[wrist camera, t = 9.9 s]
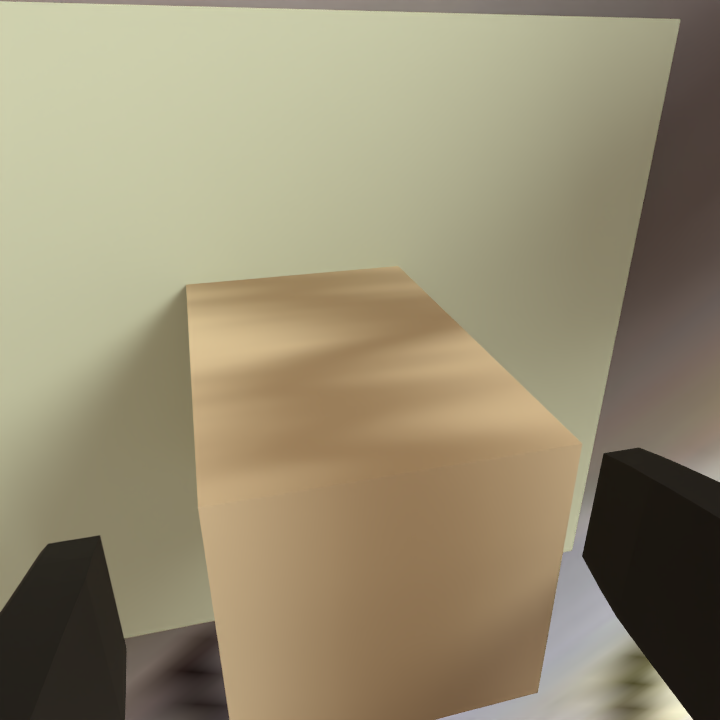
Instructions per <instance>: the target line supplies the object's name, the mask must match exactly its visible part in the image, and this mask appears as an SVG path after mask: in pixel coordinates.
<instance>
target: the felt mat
mask: <svg viewBox="0 0 720 720" xmlns="http://www.w3.org/2000/svg"><path fill="white" fill-rule="evenodd" d="M680 20H681V19H657V18H619V17H580V16H541V15H503V14H464V13H426V12H387V11H349V10H310V9H272V8H233V7H195V6H156V5H118V4H79V3H41V2H2V1H0V612H1V611H2V609H3V608H4V606H5V605H6V603H7V602H8V600H9V599H10V597H11V596H12V594H13V593H14V591H15V590H16V588H17V587H18V585H19V584H20V582H21V581H22V579H23V578H24V576H25V575H26V573H27V572H28V570H29V569H30V567H31V566H32V564H33V563H34V561H35V560H36V558H37V557H38V555H39V554H40V552H41V551H42V550H43V549H44V548H45V547H46V546H47V544H49V543H55V542H61V541H67V540H74V539H80V538H86V537H92V536H98V535H100V537H101V541H102V545H103V550H104V554H105V558H106V563H107V567H108V571H109V576H110V580H111V584H112V588H113V593H114V597H115V601H116V606H117V610H118V614H119V619H120V623H121V627H122V631H123V636H124V639H125V638H130V637H135V636H140V635H145V634H150V633H155V632H160V631H165V630H170V629H175V628H180V627H186V626H191V625H196V624H201V623H206V622H211V621H215V618H214V612H213V605H212V598H211V592H210V585H209V578H208V571H207V565H206V558H205V551H204V545H203V538H202V531H201V525H200V518H199V511H198V499H197V480H196V462H195V443H194V424H193V406H192V387H191V368H190V350H189V331H188V313H187V294H186V285H188V284H199V283H211V282H222V281H233V280H245V279H256V278H267V277H279V276H290V275H301V274H313V273H324V272H335V271H347V270H358V269H370V268H381V267H392V266H399V267H400V268H401V269H402V270H403V271H404V272H405V273H406V274H407V275H408V276H409V277H410V278H411V279H412V280H413V281H414V282H415V283H416V284H417V285H419V286H420V287H421V288H422V289H423V290H424V291H425V292H426V293H427V294H428V295H429V296H430V297H431V298H432V299H433V300H434V301H435V302H436V303H437V304H438V305H439V306H440V307H441V308H442V309H443V310H444V311H445V312H446V313H448V314H449V315H450V316H451V317H452V318H453V319H454V320H455V321H456V322H457V323H458V324H459V325H460V326H461V327H462V328H463V329H464V330H465V331H466V332H467V333H468V334H469V335H470V336H471V337H472V338H473V339H474V340H475V341H477V342H478V343H479V344H480V345H481V346H482V347H483V348H484V349H485V350H486V351H487V352H488V353H489V354H490V355H491V356H492V357H493V358H494V359H495V360H496V361H497V362H498V363H499V364H500V365H501V366H502V367H503V368H505V369H506V370H507V371H508V372H509V373H510V374H511V375H512V376H513V377H514V378H515V379H516V380H517V381H518V382H519V383H520V384H521V385H522V386H523V387H524V388H525V389H526V390H527V391H528V392H529V393H530V394H531V395H532V396H534V397H535V398H536V399H537V400H538V401H539V402H540V403H541V404H542V405H543V406H544V407H545V408H546V409H547V410H548V411H549V412H550V413H551V414H552V415H553V416H554V417H555V418H556V419H557V420H558V421H559V422H560V423H561V424H563V425H564V426H565V427H566V428H567V429H568V430H569V431H570V432H571V433H572V434H573V435H574V436H575V437H576V438H577V439H578V440H579V441H580V442H581V443H582V448H581V454H580V460H579V465H578V471H577V476H576V482H575V487H574V493H573V498H572V504H571V510H570V515H569V521H568V526H567V532H566V537H565V543H564V549H563V552H567V551H572V548H573V543H574V538H575V533H576V528H577V523H578V518H579V514H580V509H581V504H582V499H583V494H584V489H585V484H586V479H587V474H588V470H589V465H590V460H591V455H592V450H593V445H594V440H595V435H596V430H597V426H598V421H599V416H600V411H601V406H602V401H603V396H604V391H605V386H606V382H607V377H608V372H609V367H610V362H611V357H612V352H613V347H614V342H615V338H616V333H617V328H618V323H619V318H620V313H621V308H622V303H623V299H624V294H625V289H626V284H627V279H628V274H629V269H630V264H631V259H632V255H633V250H634V245H635V240H636V235H637V230H638V225H639V220H640V215H641V211H642V206H643V201H644V196H645V191H646V186H647V181H648V176H649V171H650V167H651V162H652V157H653V152H654V147H655V142H656V137H657V132H658V127H659V123H660V118H661V113H662V108H663V103H664V98H665V93H666V88H667V83H668V79H669V74H670V69H671V64H672V59H673V54H674V49H675V44H676V40H677V35H678V30H679V25H680Z"/></svg>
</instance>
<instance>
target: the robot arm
mask: <svg viewBox="0 0 720 720" xmlns="http://www.w3.org/2000/svg"><path fill="white" fill-rule="evenodd" d="M582 557H583V559H584V560H585V562H586V564H587V566H588V568H589V570H590V571H591V573H592V575H593V577H594V579H595V581H596V582H597V584H598V586H599V588H600V590H601V591H602V593H603V595H604V596H605V598H606V600H607V601H608V603H609V605H610V606H611V608H612V610H613V612H614V613H615V615H616V617H617V618H618V619H619V621H620V622H621V624H622V625H623V626H624V628H625V629H626V631H627V632H628V633H629V635H630V636H631V637H632V639H633V640H634V641H635V643H636V644H637V645H638V647H639V648H640V649H641V651H642V652H643V654H644V655H645V656H646V658H647V659H648V660H649V662H650V663H651V664H652V666H653V667H654V668H655V670H656V671H657V672H658V674H659V675H660V676H661V678H662V679H663V680H664V682H665V683H666V684H667V686H668V687H669V688H670V690H671V691H672V692H673V693H674V695H675V696H676V697H677V699H678V700H679V701H680V703H681V704H682V705H683V707H684V708H685V709H686V711H687V712H688V713H689V715H690V716H691V717H692V719H693V720H720V482H717V481H715V480H713V479H711V478H709V477H707V476H705V475H702V474H700V473H698V472H696V471H694V470H691V469H689V468H687V467H685V466H682V465H680V464H678V463H676V462H673V461H671V460H669V459H666V458H664V457H662V456H659V455H657V454H654V453H652V452H649V451H646V450H644V449H641V448H634V449H628V450H622V451H615V452H609V453H604V454H603V459H602V464H601V469H600V474H599V478H598V483H597V488H596V493H595V498H594V502H593V507H592V512H591V517H590V522H589V526H588V531H587V536H586V541H585V546H584V550H583V555H582ZM125 698H126V644H125V640H124V636H123V631H122V627H121V623H120V619H119V614H118V610H117V606H116V601H115V597H114V593H113V588H112V584H111V580H110V576H109V571H108V567H107V563H106V558H105V554H104V550H103V545H102V541H101V537H100V535H98V536H92V537H86V538H80V539H74V540H67V541H61V542H55V543H49V544H47V546H46V547H45V548H44V549H43V550H42V551H41V552H40V554H39V555H38V557H37V558H36V560H35V561H34V563H33V564H32V566H31V567H30V569H29V570H28V572H27V573H26V575H25V576H24V578H23V579H22V581H21V582H20V584H19V585H18V587H17V588H16V590H15V591H14V593H13V594H12V596H11V597H10V599H9V600H8V602H7V603H6V605H5V606H4V608H3V609H2V611H1V612H0V720H125Z"/></svg>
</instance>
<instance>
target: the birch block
mask: <svg viewBox="0 0 720 720" xmlns="http://www.w3.org/2000/svg"><path fill="white" fill-rule="evenodd" d="M186 294H187V313H188V331H189V350H190V368H191V387H192V406H193V424H194V443H195V462H196V480H197V499H198V511H199V518H200V525H201V531H202V538H203V545H204V551H205V558H206V565H207V571H208V578H209V585H210V592H211V598H212V605H213V612H214V618H215V625H216V632H217V638H218V645H219V652H220V658H221V665H222V672H223V678H224V685H225V692H226V699H227V705H228V712H229V719H230V720H435V719H439V718H443V717H447V716H450V715H454V714H458V713H462V712H466V711H469V710H473V709H477V708H481V707H485V706H489V705H492V704H496V703H500V702H504V701H508V700H511V699H515V698H519V697H523V696H527V695H530V694H534V693H538V688H539V682H540V677H541V671H542V666H543V660H544V654H545V649H546V643H547V638H548V632H549V627H550V621H551V615H552V610H553V604H554V599H555V593H556V588H557V582H558V576H559V571H560V565H561V560H562V554H563V549H564V543H565V537H566V532H567V526H568V521H569V515H570V510H571V504H572V498H573V493H574V487H575V482H576V476H577V471H578V465H579V460H580V454H581V448H582V443H581V442H580V441H579V440H578V439H577V438H576V437H575V436H574V435H573V434H572V433H571V432H570V431H569V430H568V429H567V428H566V427H565V426H564V425H563V424H561V423H560V422H559V421H558V420H557V419H556V418H555V417H554V416H553V415H552V414H551V413H550V412H549V411H548V410H547V409H546V408H545V407H544V406H543V405H542V404H541V403H540V402H539V401H538V400H537V399H536V398H535V397H534V396H532V395H531V394H530V393H529V392H528V391H527V390H526V389H525V388H524V387H523V386H522V385H521V384H520V383H519V382H518V381H517V380H516V379H515V378H514V377H513V376H512V375H511V374H510V373H509V372H508V371H507V370H506V369H505V368H503V367H502V366H501V365H500V364H499V363H498V362H497V361H496V360H495V359H494V358H493V357H492V356H491V355H490V354H489V353H488V352H487V351H486V350H485V349H484V348H483V347H482V346H481V345H480V344H479V343H478V342H477V341H475V340H474V339H473V338H472V337H471V336H470V335H469V334H468V333H467V332H466V331H465V330H464V329H463V328H462V327H461V326H460V325H459V324H458V323H457V322H456V321H455V320H454V319H453V318H452V317H451V316H450V315H449V314H448V313H446V312H445V311H444V310H443V309H442V308H441V307H440V306H439V305H438V304H437V303H436V302H435V301H434V300H433V299H432V298H431V297H430V296H429V295H428V294H427V293H426V292H425V291H424V290H423V289H422V288H421V287H420V286H419V285H417V284H416V283H415V282H414V281H413V280H412V279H411V278H410V277H409V276H408V275H407V274H406V273H405V272H404V271H403V270H402V269H401V268H400V267H399V266H392V267H381V268H370V269H358V270H347V271H335V272H324V273H313V274H301V275H290V276H279V277H267V278H256V279H245V280H233V281H222V282H211V283H199V284H188V285H186Z"/></svg>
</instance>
